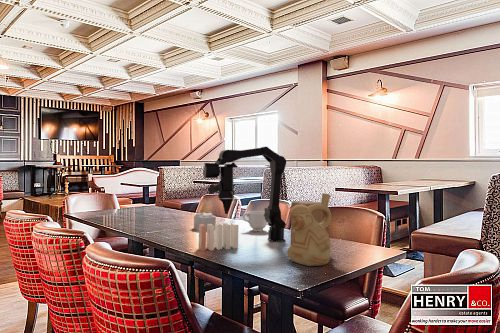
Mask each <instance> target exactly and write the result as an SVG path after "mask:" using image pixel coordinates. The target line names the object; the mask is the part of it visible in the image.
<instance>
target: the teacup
mask: <svg viewBox="0 0 500 333" xmlns="http://www.w3.org/2000/svg"><path fill="white" fill-rule="evenodd" d="M264 213H265V210H248V211H247V212H244V213H243V214H242V220H243V221H245V222H247V223H248V224H249V226H250V228H252V231H253V232H257V231H259V232H263V231H264V229H265V228H266V227H267V225H268V222H267V221H266V220H265V217H264ZM245 216H246V217H247V218H248V220H247V219H246V218H245Z"/></svg>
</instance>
